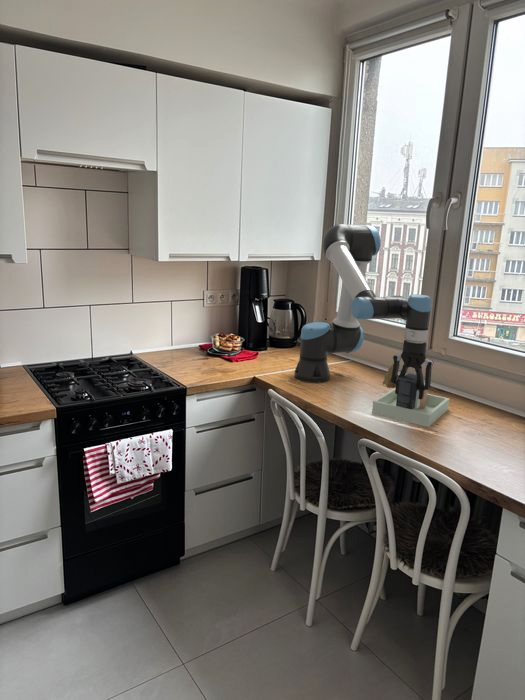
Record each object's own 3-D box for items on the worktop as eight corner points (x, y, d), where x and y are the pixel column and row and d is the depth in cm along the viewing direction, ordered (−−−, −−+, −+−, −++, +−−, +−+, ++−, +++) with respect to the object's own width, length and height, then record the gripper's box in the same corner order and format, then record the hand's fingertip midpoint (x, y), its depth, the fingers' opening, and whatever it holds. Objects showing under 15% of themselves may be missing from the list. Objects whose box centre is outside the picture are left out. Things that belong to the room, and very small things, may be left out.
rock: (397, 386, 213) (408, 378, 220) (386, 367, 214) (398, 360, 221) (377, 396, 221) (389, 387, 228) (367, 378, 222) (378, 370, 229)
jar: (404, 406, 195) (407, 383, 193) (411, 401, 200) (413, 379, 198) (422, 410, 191) (425, 387, 189) (428, 406, 196) (431, 383, 194)
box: (405, 401, 191) (408, 373, 189) (420, 405, 188) (423, 376, 185) (395, 406, 185) (398, 377, 183) (410, 410, 182) (414, 381, 179)
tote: (371, 414, 187) (373, 401, 186) (395, 399, 205) (396, 386, 204) (428, 429, 176) (429, 415, 175) (447, 411, 194) (449, 398, 193)
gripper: (384, 338, 183) (378, 401, 189) (439, 347, 173) (431, 414, 178) (393, 334, 189) (386, 396, 195) (446, 343, 179) (438, 408, 184)
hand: (407, 405), depth 186 cm, fingers closed on box, 6 cm apart
